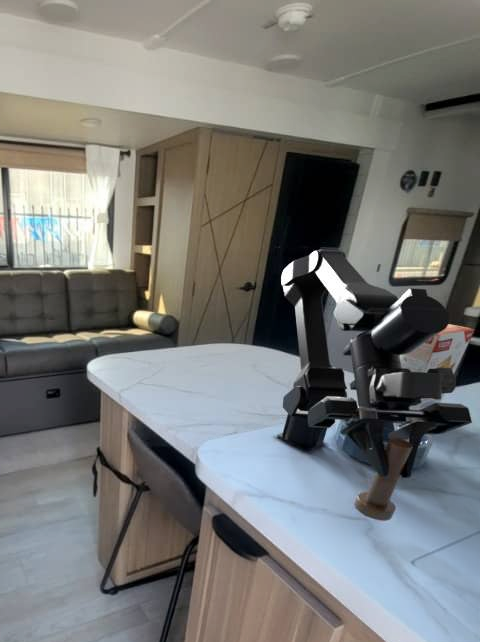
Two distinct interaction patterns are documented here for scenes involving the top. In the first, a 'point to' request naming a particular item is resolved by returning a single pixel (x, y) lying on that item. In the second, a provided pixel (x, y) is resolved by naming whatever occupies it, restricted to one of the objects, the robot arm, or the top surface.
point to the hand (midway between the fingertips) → (395, 477)
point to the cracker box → (438, 355)
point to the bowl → (356, 453)
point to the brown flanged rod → (385, 483)
